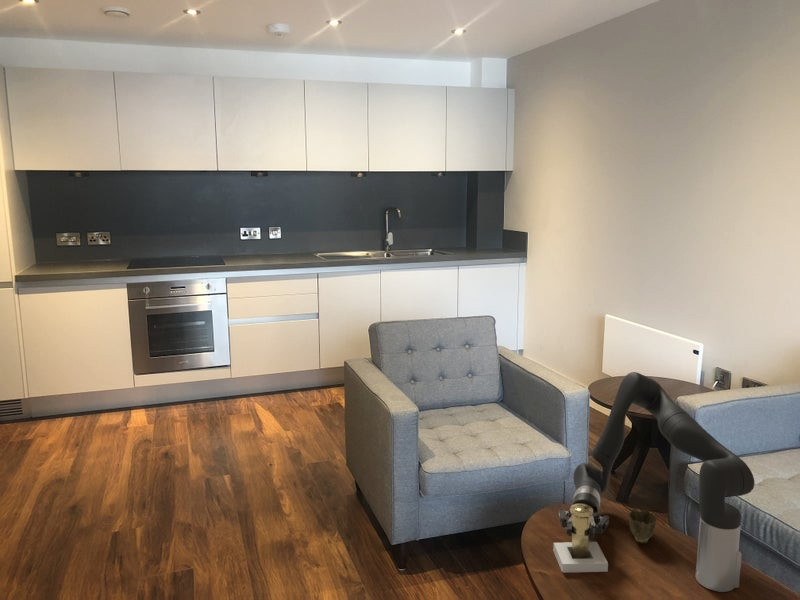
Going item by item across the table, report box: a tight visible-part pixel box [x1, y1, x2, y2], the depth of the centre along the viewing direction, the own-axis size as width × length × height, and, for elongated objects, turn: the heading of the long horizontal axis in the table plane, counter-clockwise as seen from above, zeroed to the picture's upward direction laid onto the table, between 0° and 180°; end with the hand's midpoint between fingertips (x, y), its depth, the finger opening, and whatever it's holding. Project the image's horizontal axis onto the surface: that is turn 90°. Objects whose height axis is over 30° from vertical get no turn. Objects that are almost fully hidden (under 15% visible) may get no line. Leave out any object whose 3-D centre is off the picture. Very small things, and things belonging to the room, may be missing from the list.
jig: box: [553, 541, 609, 574], centre depth 179 cm, size 12×10×2 cm
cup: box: [628, 509, 658, 544], centre depth 188 cm, size 8×7×8 cm
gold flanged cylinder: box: [569, 504, 593, 559], centre depth 178 cm, size 6×6×14 cm
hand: (579, 534), depth 175 cm, fingers closed on gold flanged cylinder, 4 cm apart
